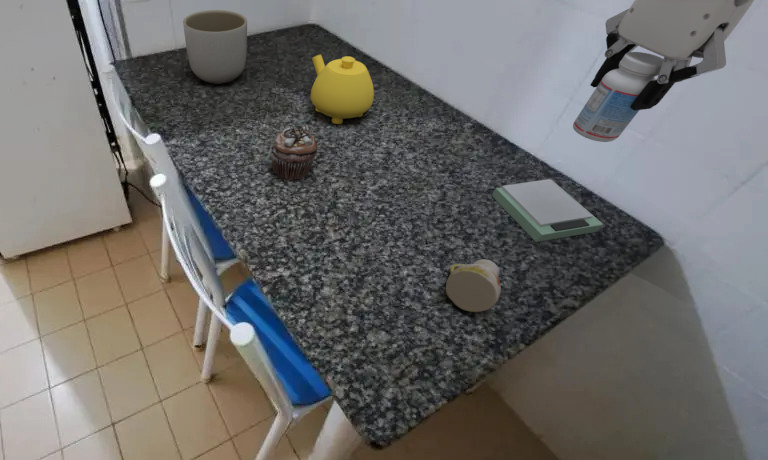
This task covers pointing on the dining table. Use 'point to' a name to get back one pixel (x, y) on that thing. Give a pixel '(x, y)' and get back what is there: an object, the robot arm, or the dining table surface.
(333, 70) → the teapot
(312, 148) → the cupcake
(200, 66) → the planter
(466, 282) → the white floral pitcher
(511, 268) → the dining table surface
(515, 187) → the scale
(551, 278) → the dining table surface
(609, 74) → the pill bottle
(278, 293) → the dining table surface
